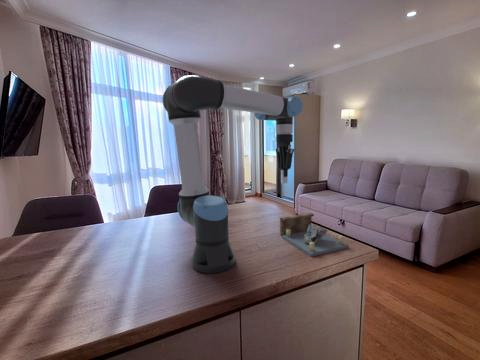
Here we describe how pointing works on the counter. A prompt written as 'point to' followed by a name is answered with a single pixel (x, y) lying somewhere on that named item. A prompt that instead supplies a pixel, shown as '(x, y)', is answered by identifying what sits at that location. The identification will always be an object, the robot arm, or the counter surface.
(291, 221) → the panel
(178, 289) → the counter surface
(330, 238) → the base
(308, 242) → the mineral specimen
